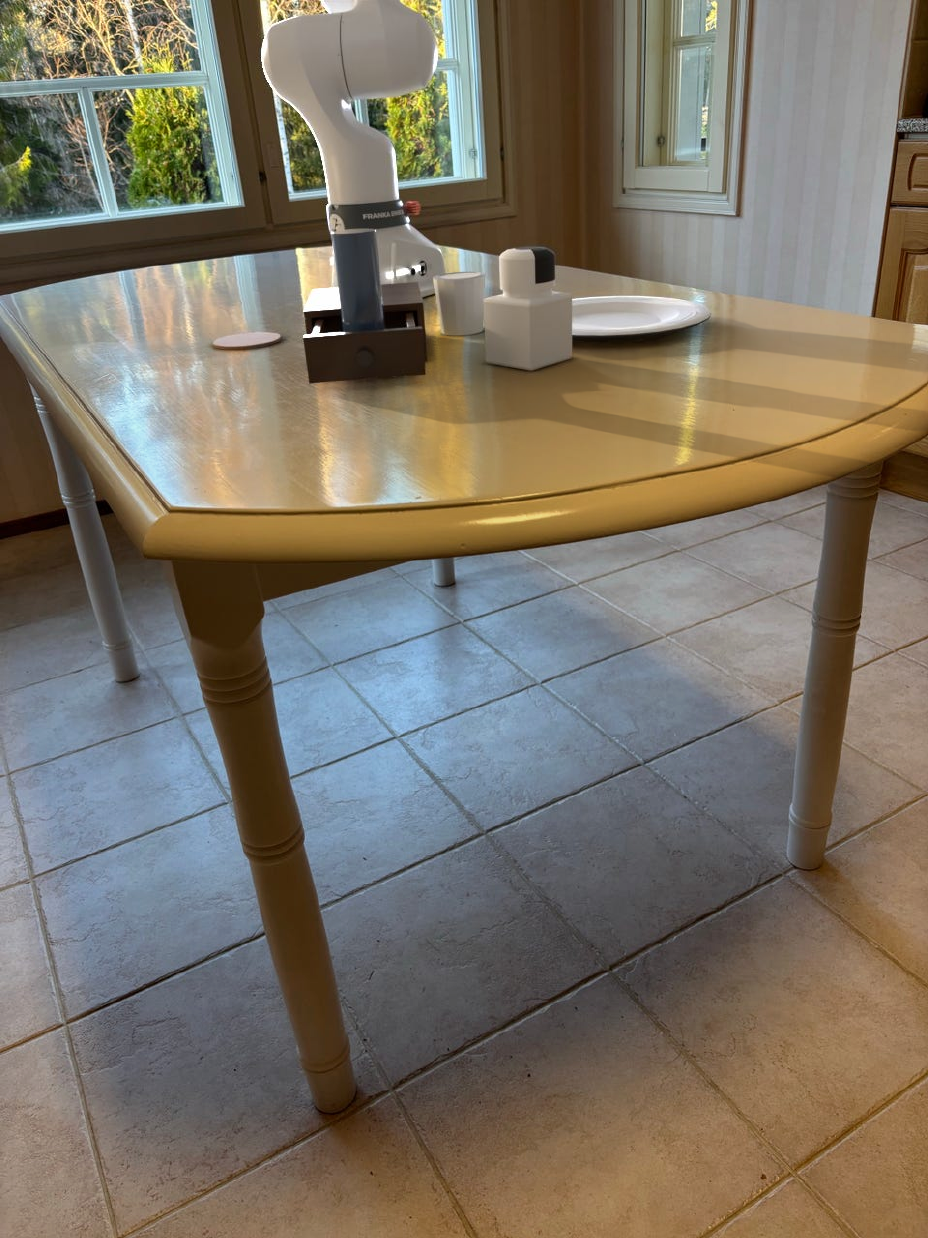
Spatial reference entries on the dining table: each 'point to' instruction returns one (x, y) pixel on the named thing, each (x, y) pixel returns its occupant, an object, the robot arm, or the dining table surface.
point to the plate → (632, 318)
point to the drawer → (364, 350)
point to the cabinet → (393, 301)
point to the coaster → (247, 340)
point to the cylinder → (358, 279)
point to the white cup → (460, 302)
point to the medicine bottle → (528, 313)
